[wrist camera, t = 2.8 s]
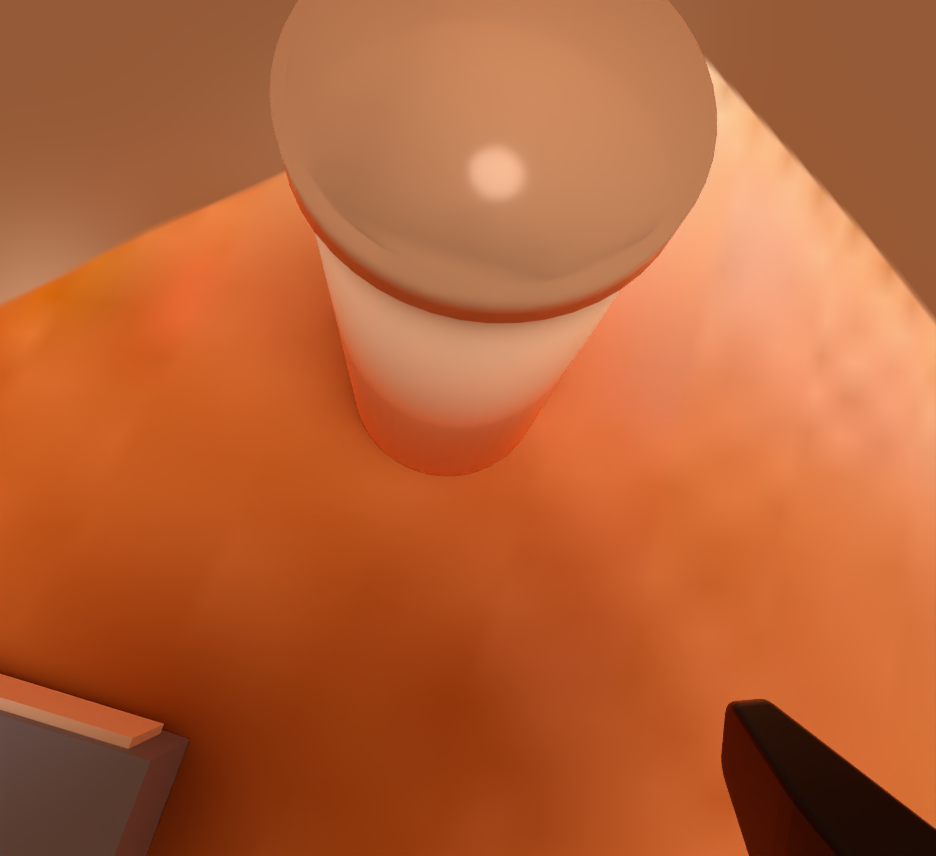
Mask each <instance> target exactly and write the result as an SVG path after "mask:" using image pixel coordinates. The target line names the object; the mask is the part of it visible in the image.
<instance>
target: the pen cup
mask: <svg viewBox="0 0 936 856" xmlns="http://www.w3.org/2000/svg"><path fill="white" fill-rule="evenodd" d="M270 105H271V113H272V122H273V127H274V130H275V134H276V138H277V142H278V145H279V149H280V152H281V156H282V159H283V163H284V167H285V170H286V174H287V178H288V181H289V185H290V188H291V190H292V192H293V194H294V196H295V199H296V201H297V203H298V205H299V208H300V210H301V211H302V213H303V215H304V216H305V218H306V219H307V221H308V222H309V224H310V226H311V227H312V229H313V230H314V232H315V235H316V239H317V244H318V248H319V252H320V256H321V260H322V264H323V268H324V272H325V277H326V281H327V285H328V289H329V293H330V297H331V301H332V305H333V309H334V314H335V318H336V322H337V326H338V330H339V334H340V338H341V342H342V347H343V351H344V355H345V359H346V363H347V367H348V371H349V375H350V380H351V384H352V388H353V392H354V396H355V400H356V404H357V408H358V411H359V415H360V417H361V420H362V422H363V424H364V427H365V428H366V430H367V432H368V433H369V435H370V436H371V438H372V439H373V440H374V441H375V443H376V444H377V445H378V446H379V447H380V448H381V449H382V450H383V451H384V452H385V453H386V454H387V455H389V456H390V457H391V458H393V459H394V460H396V461H397V462H399V463H401V464H402V465H404V466H406V467H408V468H411V469H413V470H416V471H419V472H422V473H426V474H431V475H439V476H458V475H465V474H470V473H473V472H477V471H480V470H482V469H485V468H487V467H489V466H491V465H493V464H495V463H496V462H498V461H500V460H501V459H502V458H504V457H505V456H506V455H507V454H509V453H510V452H511V451H512V450H513V449H514V448H515V447H516V446H517V445H518V443H519V442H520V441H521V439H522V438H523V436H524V435H525V434H526V432H527V431H528V429H529V428H530V426H531V425H532V423H533V421H534V420H535V418H536V417H537V415H538V414H539V412H540V411H541V409H542V408H543V406H544V405H545V403H546V402H547V400H548V399H549V397H550V396H551V394H552V393H553V391H554V390H555V388H556V387H557V385H558V384H559V382H560V381H561V379H562V378H563V376H564V375H565V373H566V372H567V370H568V369H569V367H570V366H571V364H572V362H573V361H574V359H575V358H576V356H577V355H578V353H579V352H580V350H581V349H582V347H583V346H584V344H585V343H586V341H587V340H588V338H589V337H590V335H591V334H592V332H593V331H594V329H595V328H596V326H597V325H598V323H599V322H600V320H601V319H602V317H603V316H604V314H605V313H606V311H607V310H608V308H609V307H610V305H611V303H612V302H613V300H614V299H615V297H616V296H617V294H618V293H619V291H620V290H621V289H622V288H623V287H625V286H626V285H627V284H629V283H630V282H631V281H632V280H634V279H635V278H636V277H638V276H639V275H640V274H641V273H642V272H643V271H644V270H645V269H646V268H647V267H648V266H649V265H650V264H651V263H652V262H653V261H654V260H655V259H656V258H657V257H658V256H659V254H660V253H661V252H662V250H663V249H664V247H665V246H666V245H667V243H668V242H669V240H670V239H671V237H672V236H673V235H674V233H675V232H676V230H677V229H678V228H679V226H680V225H681V223H682V222H683V220H684V219H685V218H686V216H687V215H688V213H689V212H690V210H691V209H692V208H693V206H694V205H695V203H696V201H697V199H698V197H699V195H700V193H701V191H702V189H703V187H704V185H705V183H706V180H707V177H708V173H709V170H710V167H711V164H712V161H713V156H714V150H715V143H716V136H717V109H716V102H715V95H714V89H713V84H712V81H711V77H710V74H709V71H708V67H707V64H706V61H705V59H704V57H703V55H702V52H701V50H700V48H699V46H698V44H697V41H696V39H695V38H694V37H693V35H692V33H691V31H690V30H689V28H688V26H687V25H686V23H685V22H684V20H683V18H682V17H681V16H680V15H679V13H678V12H677V11H676V10H675V8H674V7H673V6H672V5H671V3H670V2H669V1H668V0H299V1H298V2H297V3H296V5H295V7H294V8H293V10H292V12H291V14H290V16H289V18H288V19H287V21H286V23H285V25H284V27H283V30H282V32H281V35H280V38H279V40H278V43H277V46H276V49H275V54H274V59H273V64H272V69H271V77H270Z"/></svg>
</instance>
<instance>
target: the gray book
mask: <svg viewBox="0 0 936 856" xmlns="http://www.w3.org/2000/svg"><path fill="white" fill-rule="evenodd" d="M163 725H164V724H163V723H160V722H157V721H153V720H150V719H147V718H143V717H140V716H137V715H134V714H130V713H127V712H124V711H121V710H117V709H114V708H111V707H108V706H104V705H101V704H98V703H95V702H91V701H88V700H85V699H81V698H78V697H75V696H72V695H68V694H65V693H62V692H59V691H55V690H52V689H49V688H46V687H42V686H39V685H36V684H33V683H29V682H26V681H23V680H20V679H16V678H13V677H10V676H6V675H3V674H0V856H146V855H147V852H148V849H149V847H150V844H151V841H152V839H153V836H154V833H155V831H156V828H157V825H158V823H159V820H160V817H161V815H162V812H163V809H164V807H165V804H166V801H167V799H168V796H169V793H170V791H171V788H172V785H173V783H174V780H175V777H176V775H177V772H178V769H179V767H180V764H181V761H182V759H183V756H184V753H185V751H186V748H187V745H188V743H189V740H190V739H189V738H186V737H183V736H180V735H176V734H173V733H170V732H167V731H163V730H162V728H163Z"/></svg>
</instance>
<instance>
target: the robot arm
mask: <svg viewBox="0 0 936 856" xmlns="http://www.w3.org/2000/svg"><path fill="white" fill-rule="evenodd" d="M721 761H722V770H723V775H724V779H725V782H726V785H727V788H728V792H729V795H730V798H731V801H732V804H733V807H734V810H735V813H736V817H737V820H738V823H739V826H740V829H741V832H742V835H743V838H744V842H745V845H746V848H747V851H748V854H749V856H936V829H935V828H934V827H933V826H931V825H930V824H929V823H927V822H926V821H925V820H923V819H922V818H921V817H920V816H918V815H917V814H916V813H914V812H913V811H912V810H910V809H909V808H908V807H907V806H905V805H904V804H903V803H901V802H900V801H899V800H897V799H896V798H895V797H894V796H892V795H891V794H890V793H888V792H887V791H886V790H884V789H883V788H882V787H881V786H879V785H878V784H877V783H875V782H874V781H873V780H871V779H870V778H869V777H868V776H866V775H865V774H864V773H862V772H861V771H860V770H859V769H857V768H856V767H855V766H853V765H852V764H851V763H849V762H848V761H847V760H846V759H844V758H843V757H842V756H840V755H839V754H838V753H836V752H835V751H834V750H833V749H831V748H830V747H829V746H827V745H826V744H825V743H823V742H822V741H821V740H820V739H818V738H817V737H816V736H814V735H813V734H812V733H810V732H809V731H808V730H807V729H805V728H804V727H803V726H801V725H800V724H799V723H797V722H796V721H795V720H794V719H792V718H791V717H790V716H788V715H787V714H786V713H785V712H783V711H782V710H781V709H779V708H778V707H777V706H775V705H774V704H773V703H771V702H769V701H767V700H764V699H754V700H742V701H733V702H731V703H729V704H728V706H727V708H726V712H725V721H724V732H723V743H722V754H721Z"/></svg>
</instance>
